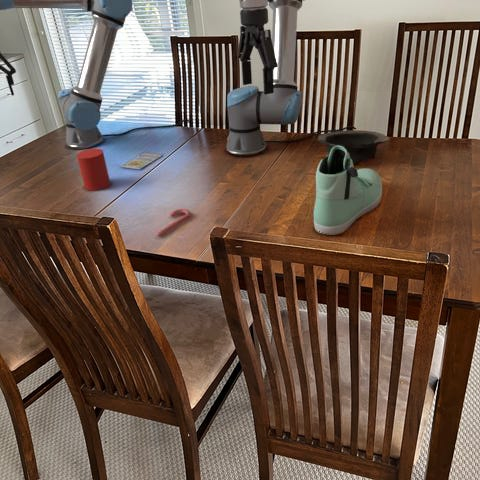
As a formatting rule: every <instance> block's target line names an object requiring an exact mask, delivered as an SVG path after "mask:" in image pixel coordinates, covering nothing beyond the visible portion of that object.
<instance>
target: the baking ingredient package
mask: <svg viewBox="0 0 480 480" xmlns="http://www.w3.org/2000/svg"><path fill="white" fill-rule="evenodd" d="M161 157H162V154H156V153H155V154H154V153H147V152H143V153H140V154H138V156H135V157H134V158H132V159H130V160H129V161H127V162H125V163H123V164H122V165H120V166H119V167H121V168H126V169H134V170H141V169H142V168H144V167H145V166H147V165H149V164H150V163H152V162H154V161H155V160H157V159H158V158H161Z"/></svg>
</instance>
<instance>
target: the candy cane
mask: <svg viewBox="0 0 480 480" xmlns="http://www.w3.org/2000/svg"><path fill="white" fill-rule="evenodd" d="M181 214H184V215H182V216H181V217H179V218H178V219H176V220H175V221H173V222H171V223H170V224H168V225H167V226H165V227H164V228H162V229H161V230H159V231H158V232H156V236H157V237H159V238H160V237H162V236H164V235H166V234H167V233H168V232H170V231H171V230H173V229H175V228H176V227H178V226H180V225H181V224H182V223H184V222H185V221H187V220H189V218H191V215H192V214H191V211H190V210H189V209H186V208H179V209H178V208H177V209H175V210H173V211H172V212H171V213H170V217H172V218H175V216H178V215H181Z"/></svg>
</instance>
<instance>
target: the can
mask: <svg viewBox="0 0 480 480" xmlns="http://www.w3.org/2000/svg"><path fill="white" fill-rule="evenodd" d="M76 158H77V162H78V166H79V170H80V174H81V178H82V181H83V185H84V189H85V190H86V191H91V192H97V191H101V190H104V189H107V188H108V187H110V185H111V179H110V175H109V171H108V166H107V163H106V162H107V161H106V158H105V154H104V150H103V149H101V148H87V149H83V150H81V151H79V152H78V153H77V154H76Z"/></svg>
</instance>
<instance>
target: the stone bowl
mask: <svg viewBox="0 0 480 480" xmlns="http://www.w3.org/2000/svg"><path fill="white" fill-rule="evenodd" d="M389 140H390V137H388V136H387V135H385V134H383V133H381V132H377V131H373V130H372V131H371V130H357V129H356V130H355V129H353V130H350V129H345V130H342V131H334V132H324V133H321V134H319V135H318V136H317V140H316V142H319V143H321V144H324V145H325V149H326V152H327V153H328V154H327V155H329V154H330V152H331V149H332V148H333V147H334V146H342V147H344V148H345V149H346V150H347V152H348V153H349V156H350V159H352V161H353V165H354V164H355V165H359V164H362V163H364V161H365V160H372V159H375V158H376V156H377V153H378V146H379V145H381V144H384V143H386V142H388V141H389Z"/></svg>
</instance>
